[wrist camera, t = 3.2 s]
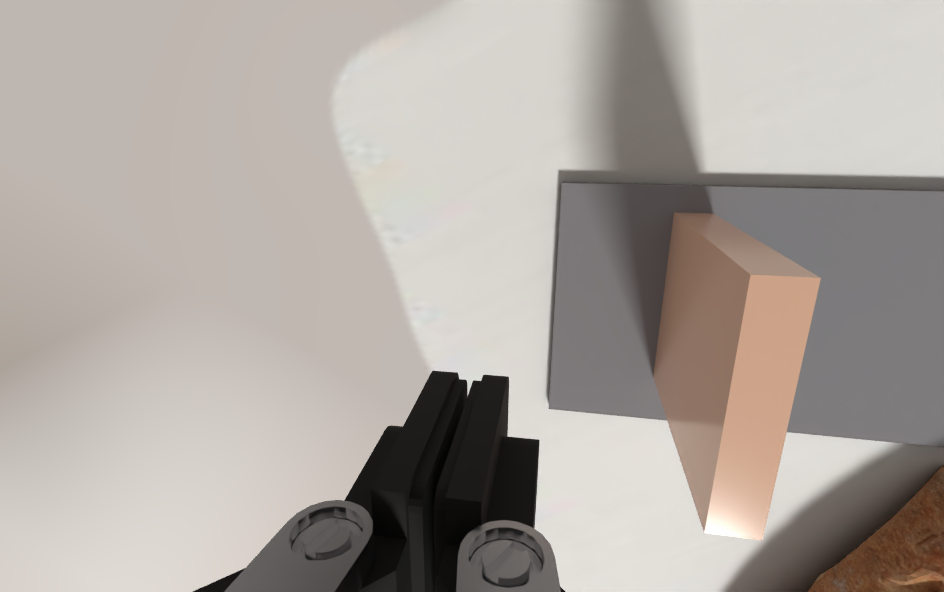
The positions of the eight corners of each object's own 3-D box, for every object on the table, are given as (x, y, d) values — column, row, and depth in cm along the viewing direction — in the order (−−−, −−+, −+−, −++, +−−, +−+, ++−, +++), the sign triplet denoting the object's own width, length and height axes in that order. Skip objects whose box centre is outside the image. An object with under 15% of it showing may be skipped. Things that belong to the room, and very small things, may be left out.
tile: (717, 213, 19) (830, 278, 11) (692, 380, 22) (769, 541, 13) (673, 212, 20) (750, 274, 11) (653, 377, 22) (704, 533, 13)
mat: (1065, 193, 18) (1076, 194, 17) (975, 445, 21) (983, 450, 20) (561, 182, 20) (561, 183, 20) (549, 404, 24) (548, 408, 23)
